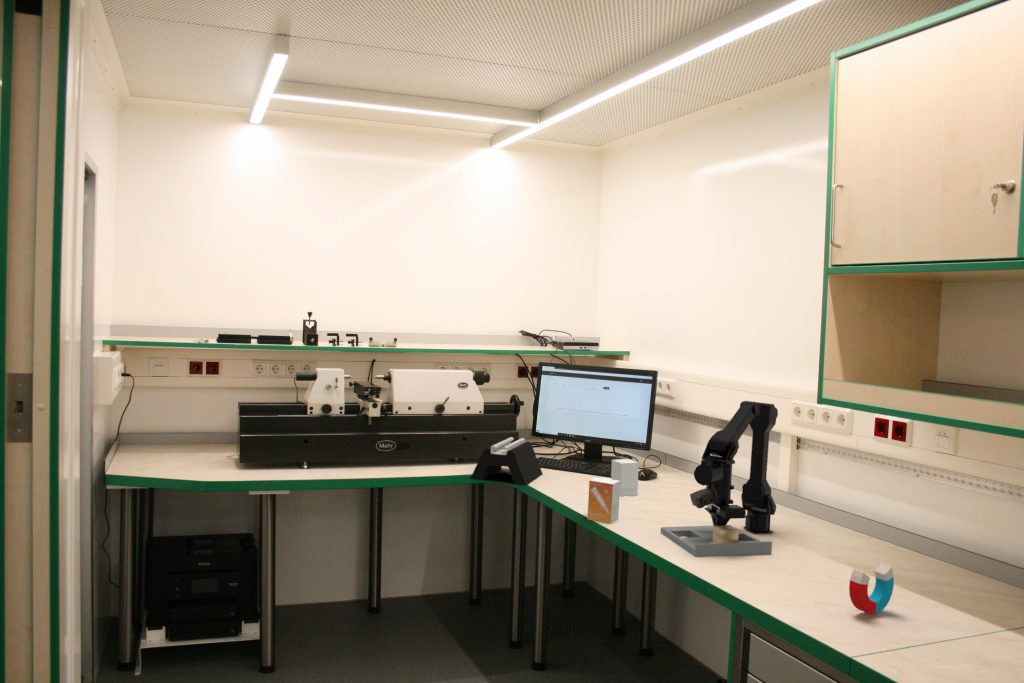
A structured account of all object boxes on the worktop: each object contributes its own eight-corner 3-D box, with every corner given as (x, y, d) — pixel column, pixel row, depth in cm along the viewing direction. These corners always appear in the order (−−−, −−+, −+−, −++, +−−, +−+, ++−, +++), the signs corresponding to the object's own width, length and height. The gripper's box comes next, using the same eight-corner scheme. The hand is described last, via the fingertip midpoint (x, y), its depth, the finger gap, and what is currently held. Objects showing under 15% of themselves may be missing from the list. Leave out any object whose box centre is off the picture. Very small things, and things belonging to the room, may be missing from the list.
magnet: (881, 606, 174) (884, 563, 173) (892, 610, 171) (895, 566, 171) (847, 614, 168) (849, 569, 168) (858, 618, 166) (860, 573, 165)
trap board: (660, 533, 225) (661, 522, 225) (730, 531, 231) (730, 520, 231) (695, 557, 204) (696, 544, 204) (771, 554, 210) (772, 541, 210)
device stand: (469, 483, 284) (470, 443, 284) (489, 472, 306) (490, 435, 305) (526, 489, 278) (527, 449, 277) (542, 477, 299) (544, 440, 298)
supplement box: (638, 497, 271) (639, 462, 270) (619, 498, 268) (621, 463, 268) (627, 492, 278) (629, 458, 277) (609, 493, 275) (611, 459, 274)
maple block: (729, 540, 214) (729, 525, 214) (737, 546, 209) (738, 530, 209) (712, 541, 213) (713, 525, 213) (721, 546, 208) (721, 530, 208)
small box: (587, 521, 236) (588, 480, 236) (595, 517, 242) (596, 476, 241) (611, 525, 232) (613, 483, 232) (618, 521, 238) (620, 480, 237)
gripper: (679, 473, 222) (677, 526, 223) (711, 488, 204) (708, 546, 204) (714, 473, 225) (711, 525, 225) (748, 488, 206) (745, 544, 207)
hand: (718, 535), depth 215 cm, fingers closed
